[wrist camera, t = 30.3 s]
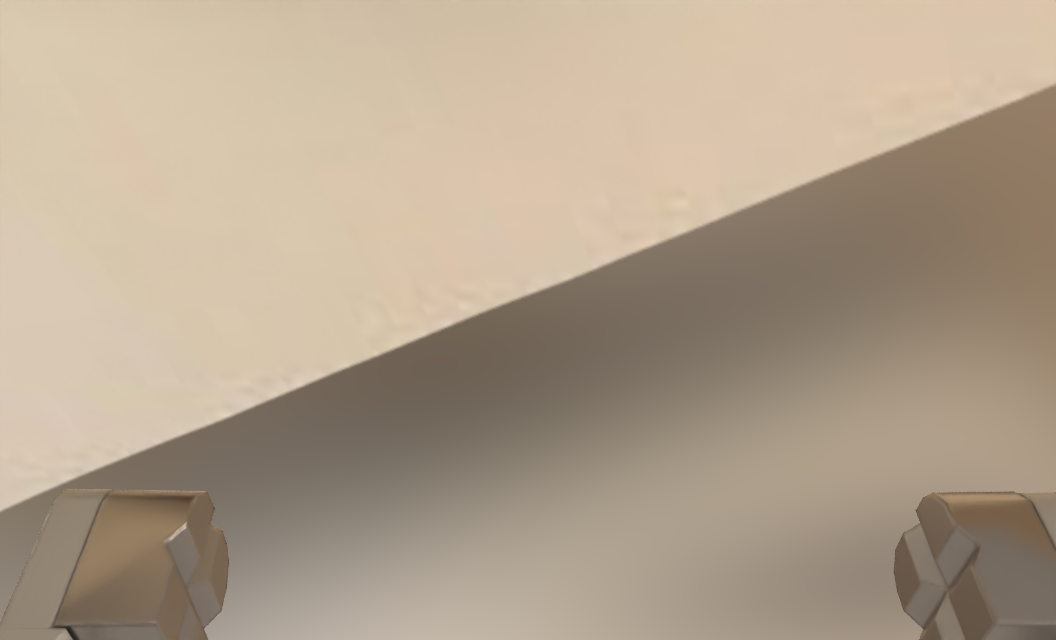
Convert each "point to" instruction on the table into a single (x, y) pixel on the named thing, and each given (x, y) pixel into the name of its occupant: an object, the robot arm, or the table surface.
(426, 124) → the table surface
